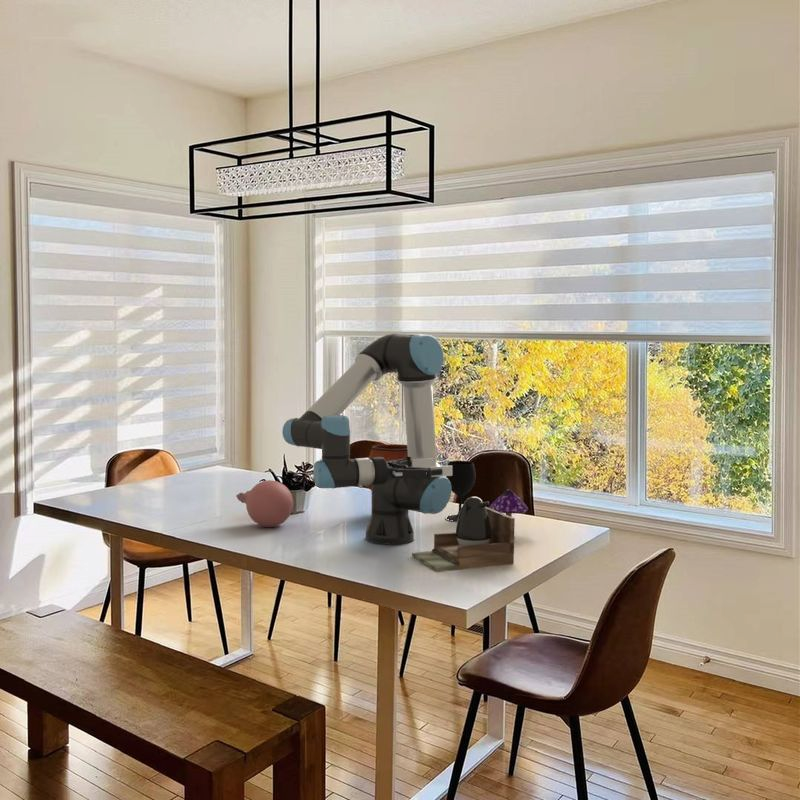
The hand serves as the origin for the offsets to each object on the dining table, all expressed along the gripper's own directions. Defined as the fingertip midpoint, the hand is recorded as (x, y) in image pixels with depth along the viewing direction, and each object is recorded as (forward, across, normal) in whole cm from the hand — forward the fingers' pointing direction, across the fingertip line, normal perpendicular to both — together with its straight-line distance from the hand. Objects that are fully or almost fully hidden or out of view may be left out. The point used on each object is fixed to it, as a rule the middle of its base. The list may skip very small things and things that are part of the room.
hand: (442, 466), depth 239 cm
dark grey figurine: (+10, 0, -25) cm, 27 cm away
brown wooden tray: (+6, 0, -28) cm, 28 cm away
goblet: (+6, -62, -28) cm, 68 cm away
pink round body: (-40, -59, -27) cm, 76 cm away
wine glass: (+28, -50, -29) cm, 64 cm away
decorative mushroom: (+33, -23, -29) cm, 49 cm away
